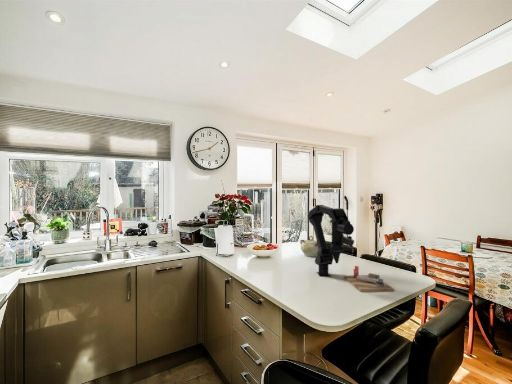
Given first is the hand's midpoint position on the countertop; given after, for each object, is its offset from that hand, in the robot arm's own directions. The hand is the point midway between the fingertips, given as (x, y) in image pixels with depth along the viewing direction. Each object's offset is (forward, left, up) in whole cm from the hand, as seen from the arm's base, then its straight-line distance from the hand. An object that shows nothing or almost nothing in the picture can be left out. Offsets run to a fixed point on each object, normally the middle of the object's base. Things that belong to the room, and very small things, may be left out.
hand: (337, 260), depth 135 cm
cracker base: (+2, +15, -12) cm, 20 cm away
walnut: (+1, +19, -9) cm, 21 cm away
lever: (+3, +15, -10) cm, 19 cm away
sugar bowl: (-58, +1, -12) cm, 59 cm away
